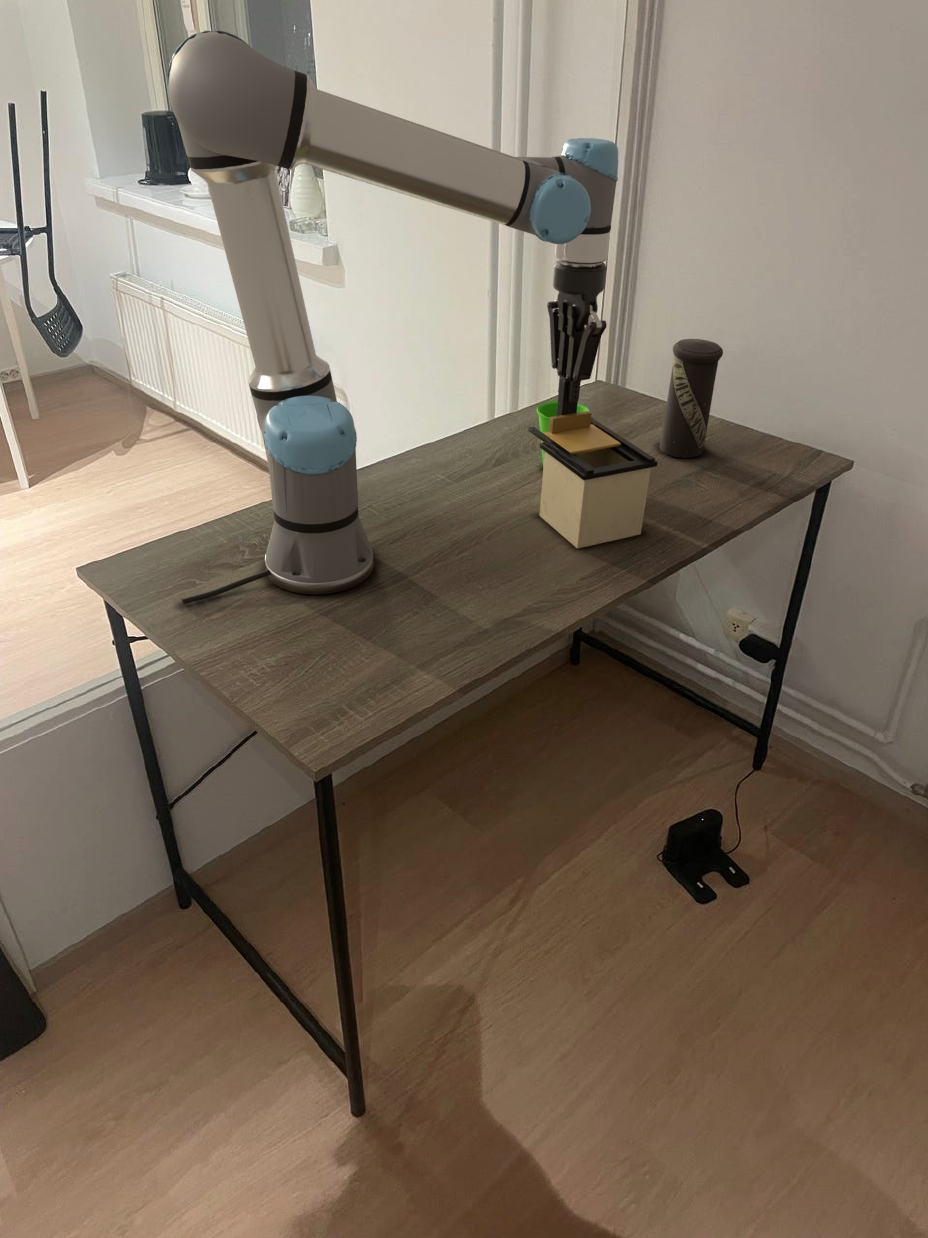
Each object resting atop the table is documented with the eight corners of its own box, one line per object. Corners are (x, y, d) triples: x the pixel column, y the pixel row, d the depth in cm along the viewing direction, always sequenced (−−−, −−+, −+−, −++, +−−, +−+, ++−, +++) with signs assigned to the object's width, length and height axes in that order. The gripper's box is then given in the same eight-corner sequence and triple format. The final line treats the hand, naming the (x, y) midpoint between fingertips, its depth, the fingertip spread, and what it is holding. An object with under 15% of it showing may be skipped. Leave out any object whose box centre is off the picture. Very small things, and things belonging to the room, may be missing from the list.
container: (654, 455, 167) (671, 346, 156) (660, 437, 174) (676, 332, 163) (702, 462, 165) (722, 352, 154) (706, 443, 172) (726, 337, 161)
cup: (585, 481, 157) (592, 420, 151) (533, 479, 157) (537, 419, 151) (581, 459, 164) (587, 401, 158) (531, 458, 164) (535, 399, 158)
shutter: (570, 454, 135) (571, 436, 134) (542, 434, 141) (544, 417, 140) (620, 445, 139) (623, 428, 137) (591, 426, 145) (593, 409, 143)
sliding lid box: (575, 551, 136) (584, 471, 129) (520, 502, 149) (525, 427, 142) (646, 535, 141) (658, 457, 134) (586, 489, 154) (594, 416, 147)
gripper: (628, 269, 126) (609, 430, 139) (579, 249, 136) (565, 401, 149) (583, 273, 123) (567, 437, 136) (535, 253, 133) (525, 407, 146)
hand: (566, 418), depth 143 cm, fingers closed
